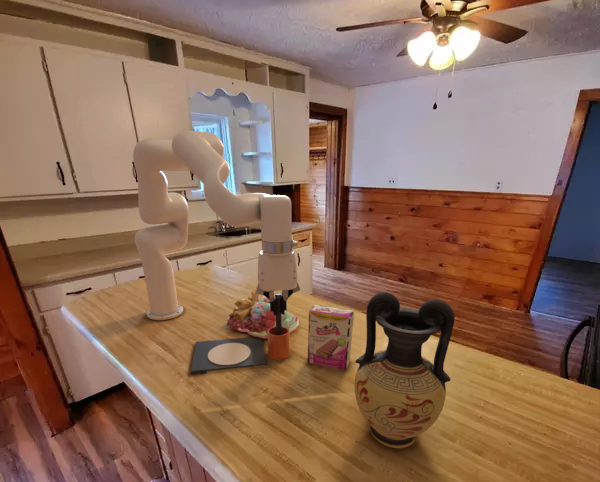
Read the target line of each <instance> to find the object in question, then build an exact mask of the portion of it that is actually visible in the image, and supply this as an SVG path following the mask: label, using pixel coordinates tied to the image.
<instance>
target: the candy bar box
mask: <svg viewBox="0 0 600 482" xmlns="http://www.w3.org/2000/svg"><path fill="white" fill-rule="evenodd" d="M354 317H355V310H352V309H346V308H339V307H332V306H326V305H320V304H313V306H312V307H311V308H309V311H308V334H307V336H308V337H307V363H308V364H311V365H317V366H322V367H327V368H331V369H332V368H333V369H339V370H343V371H346V370H347V369H348V367H349V365H350V362H351V352H352V351H351V350H352V340H353V339H352V338H353V327H354Z"/></svg>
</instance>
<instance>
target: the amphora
mask: <svg viewBox="0 0 600 482" xmlns="http://www.w3.org/2000/svg"><path fill="white" fill-rule="evenodd" d="M365 315H366V318H365V319H366V320H365V321H366V344H365V351H364V354H362V355H360V356H359V357H358V358H357V359H356V360H355V362H354V364H355V363H356V364H358V365H359V366H358V368H357V370H356V374H355V377H354V395H355V400H356V403H357V406H358V409H359V412H360V413H361V415H362V417H363V419H364V420H365V421H366V422H367V424H368V425H369V431H370V433H371V435H372V437H373V438H374V439H375V440H376V441H377V442H379V443H380V444H382V445H384V446H385V447H389V448H393V449H405V448H409V447H410V446H412V445H413V444H414V443H415V441H416V437H417V436H419V435H421V434H423V433H424V432H426V431H427V430H429V429H430V428H431V427H432V426H433V425H434V424H435V423H436V421H437V420H438V418H439V416H440V415H441V413H442V411H443V409H444V406H445V401H446V396H447V395H446V394H447V392H446V391H447V390H446V389H447V388H446V383H449V382H451V377H450V376H449V375H448V373H447V372H446V371H445V370H444V368H445V367H444V366H445V360H446V356H447V352H448V349H449V345H450V342H451V338H452V334H453V329H454V327H455V326H454V324H455V321H456V319H455V317H456V316H455V312H454V309H452V306H451V305H450V304H448V303H447V302H445V301H443V300H440V299H428V300H427V301H425V302H423V303H422V304H421V305H420V307H419V308H418V309H417V308H412V307H405V306H401V304H400V301H399V299H398V298H397V297H396V296H395V295H394V294H392V293H391V292H388V291H380V292H377V293H375V294H373V296H371V298H370V299H369V300H368V303H367V305H366V313H365ZM377 324H378V325H379V326H380V327H382V330H383V333H384V335H385V336H386V337H387V338H388V342H387V346H386V349H382V350H379V351H376V343H377ZM439 332H440V333H439ZM437 333H439V339H438V342H437V345H436V350H435V354H434V358H433V362H432V361H430V360H429V359H427V358H426V357H425V356H422V347H423V344H424V343H427V342H428V340H429V339H430V338H431V336H432V335H435V334H437Z"/></svg>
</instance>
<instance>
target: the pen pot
mask: <svg viewBox="0 0 600 482" xmlns="http://www.w3.org/2000/svg"><path fill="white" fill-rule="evenodd" d="M267 338H268V339H267V355H268V357H269V358H270V359H272V360H276V361H281V360H285V359H288V357H290V355H291V333H290V331H289V329H288V328H286V327H283V326H282V334H281V335H279V336H277V334H276V326H275V327H271V328H269V329H268V331H267Z"/></svg>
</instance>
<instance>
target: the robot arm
mask: <svg viewBox="0 0 600 482" xmlns="http://www.w3.org/2000/svg"><path fill="white" fill-rule="evenodd" d="M224 156H225V147H224V144H223V142H222V140H221V139H220V138H219V136H217V135H216V134H214V133H212V132H209V131H208V132H207V131H197V130H190V129H189V130H188V129H187V130H181V131H178V132H177V133H176V134H175V135H174V136H173V137H172V139H166V138H146V139H141V140H139V141H137V143H136V144H135V145H134V147H133V153H132V159H133V160H132V161H133V165H134V168H135V173H136V177H137V189H138V190H137V194H138V197H137V198H138V213H139V217H140V219H141V221H142V222H143V223H145V224H147V225H151V226H146V227H143V228H140V229H138V230H137V232H136V233H135V235H134V244H135V247H136V249H137V252H138V255H139V259H140V261H141V266H142V271H143V276H144V281H145V282H144V283H145V286H146V287H145V288H146V292H147V297H148V303H149V304H148V305H149V308H148V310H147V311H146V317H147V318H148V319H149V320H152V321H153V320H154V321H165V320H171V319H176V318H177V317H179V316H181V315H182V314H183V313H184V307H183V306H182V305H180V304H179V303H178V296H177V295H178V294H177V289H176V288H177V287H176V281H175V275H174V268H173V265H172V263H171V261H170V260H169V259H168V258H167V257H166V255H165V254H168V253H172V252H176V251H180V250H183V249H184V248H185V247H186V245H187V244H188V240H189V239H188V237H189V218H190V215H189V214H190V210H189V205H188V202H187V199H186V197H184V196H183V195H182V194H181V193H178V192H175V191H174V192H168V191H169V190H168V189H169V184H168V179H167V177H166V175H165V173H164V172H191V173H192V174H193V175H194V176H195V177H196V178H197V179H198V180H199V181H200V182H201V183H202V184H203V193H204V197H205V201H206V202H207V205H208V206H209V208H210V209H211V210H212V211H213V213H215V214H216V215H217V216H218V218H220V219H221V220H222V221H223V222H224V223H226V224H227V225H228V226H231V227H236V228H240V227H241V228H242V227H246V226H249V225H257V224H260V231H261V250H260V251H259V252H258V258H257V284H256V288H255V289H254V290H255V291H256V293H257V294H259V296H263V297H266V298H268V299H269V300H270V310H271V311H273V314H274V315H277V312H276V301H275V291H276V292H277V291H281V313H282V314H283V315H285V310H286V311H288V310H287V308H288V307H287V301H288V300H289V298H290V297H291V296H292V295H293V294H295V293H299V292H300V291H301V288H300V285H299V283H298V282H299V281H298V269H297V260H296V255H295V251H294V250H293V249H294V248H296V247H298V241H296V240H293V238H292V236H293V235H292V234H293V232H292V229H293V228H292V227H293V225H292V224H293V223H292V218H293V217H292V199H291V198H290V197H289V196H287V195H280V194H277V195H276V194H273V195H270V194H267V193H263V192H252V193H251V192H250V193H240V194H239V193H238V194H235V193H234V192H232V191H231V190H230V189H229V188H227V186H226V185H225V182H226V181H227V180H228V178H229V176H230V171H231V169H230V164H229V163H228V161H227V160H226V159H225V158H224Z"/></svg>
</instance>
